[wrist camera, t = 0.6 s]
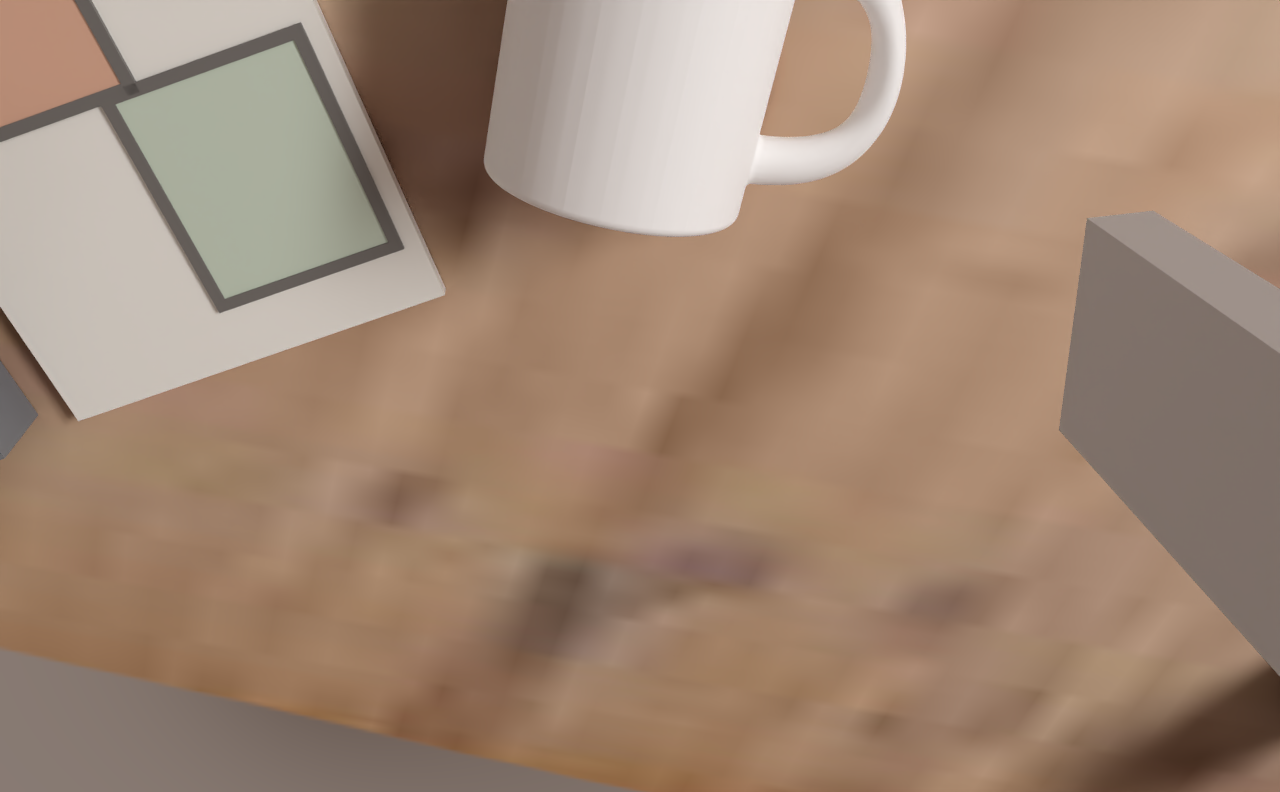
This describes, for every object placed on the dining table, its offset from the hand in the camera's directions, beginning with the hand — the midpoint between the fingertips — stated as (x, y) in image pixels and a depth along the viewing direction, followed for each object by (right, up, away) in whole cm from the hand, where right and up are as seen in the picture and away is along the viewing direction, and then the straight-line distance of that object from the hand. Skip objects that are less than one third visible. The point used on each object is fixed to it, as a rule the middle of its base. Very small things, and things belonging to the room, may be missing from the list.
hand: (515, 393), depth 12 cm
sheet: (-16, +11, +21) cm, 29 cm away
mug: (+3, +12, +23) cm, 26 cm away
